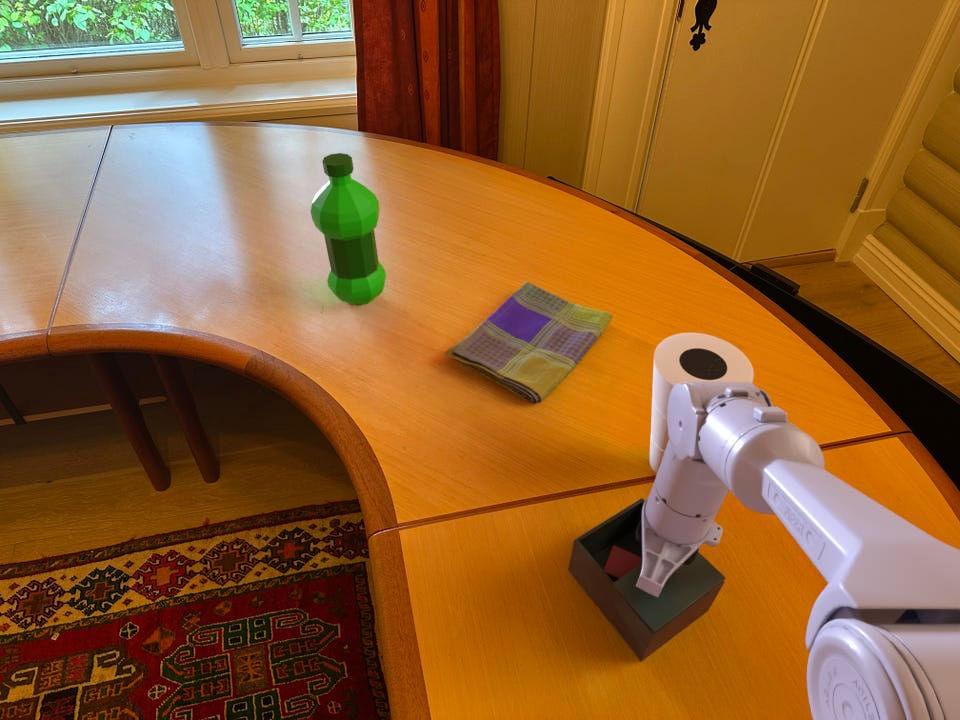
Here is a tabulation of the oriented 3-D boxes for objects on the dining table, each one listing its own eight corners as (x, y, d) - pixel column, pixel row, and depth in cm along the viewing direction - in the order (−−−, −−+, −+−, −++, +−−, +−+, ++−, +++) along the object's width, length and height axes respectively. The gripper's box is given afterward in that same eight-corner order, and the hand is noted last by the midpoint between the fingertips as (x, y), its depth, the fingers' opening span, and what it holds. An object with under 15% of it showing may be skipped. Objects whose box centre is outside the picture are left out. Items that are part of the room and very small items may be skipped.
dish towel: (616, 326, 100) (619, 312, 98) (534, 413, 86) (535, 399, 84) (528, 287, 108) (529, 274, 106) (440, 361, 93) (439, 348, 92)
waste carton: (708, 610, 65) (724, 582, 60) (640, 662, 61) (653, 635, 57) (632, 528, 72) (642, 497, 68) (567, 569, 68) (573, 539, 64)
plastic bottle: (375, 319, 101) (354, 179, 84) (319, 307, 103) (287, 169, 86) (399, 285, 108) (384, 150, 91) (346, 275, 110) (321, 141, 93)
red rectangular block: (679, 590, 66) (685, 576, 64) (671, 618, 64) (677, 605, 62) (609, 558, 69) (613, 544, 67) (598, 584, 67) (602, 571, 65)
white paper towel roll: (726, 467, 79) (772, 367, 66) (677, 513, 74) (717, 414, 61) (659, 420, 85) (690, 320, 72) (610, 460, 79) (634, 360, 67)
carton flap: (725, 579, 60) (726, 577, 60) (654, 632, 56) (654, 630, 56) (681, 538, 64) (682, 536, 64) (612, 585, 60) (612, 583, 60)
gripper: (713, 581, 46) (673, 649, 55) (755, 448, 55) (714, 526, 64) (625, 538, 48) (601, 610, 58) (679, 418, 57) (650, 497, 67)
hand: (656, 564), depth 61 cm, fingers closed, pressing on carton flap
